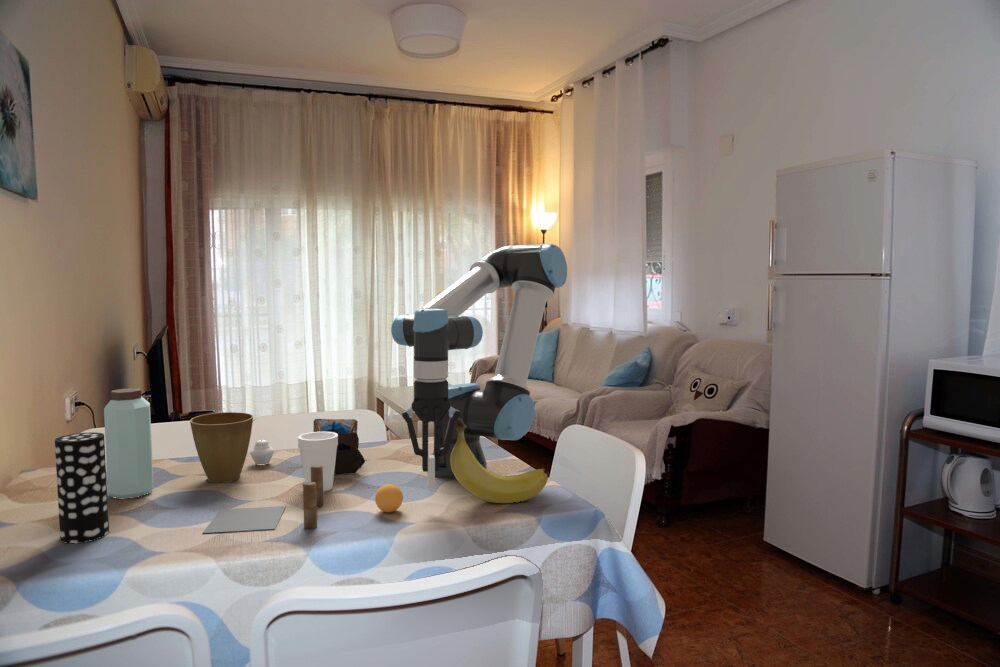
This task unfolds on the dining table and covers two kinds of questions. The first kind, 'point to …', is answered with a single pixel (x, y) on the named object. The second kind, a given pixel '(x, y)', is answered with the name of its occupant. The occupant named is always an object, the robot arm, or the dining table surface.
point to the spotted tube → (81, 487)
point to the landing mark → (245, 519)
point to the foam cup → (319, 455)
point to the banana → (492, 476)
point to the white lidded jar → (262, 452)
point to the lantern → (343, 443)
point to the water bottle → (128, 444)
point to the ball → (389, 498)
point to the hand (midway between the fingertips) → (431, 485)
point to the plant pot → (222, 443)
